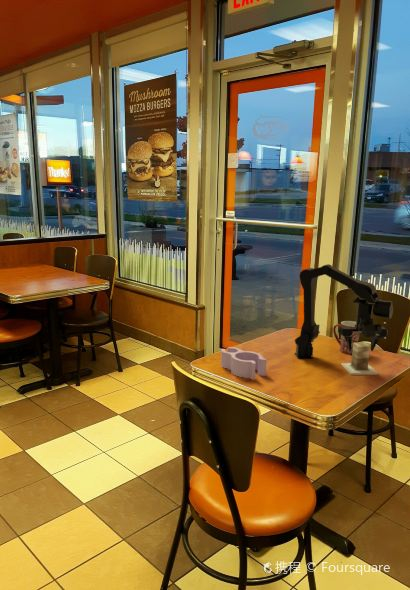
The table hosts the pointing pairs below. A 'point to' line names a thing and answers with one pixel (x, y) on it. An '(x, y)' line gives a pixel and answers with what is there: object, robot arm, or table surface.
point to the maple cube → (361, 350)
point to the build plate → (359, 372)
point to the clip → (243, 362)
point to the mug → (343, 342)
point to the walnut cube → (359, 363)
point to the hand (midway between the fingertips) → (360, 350)
